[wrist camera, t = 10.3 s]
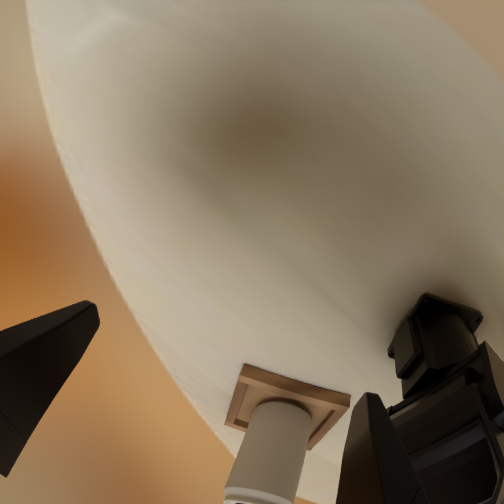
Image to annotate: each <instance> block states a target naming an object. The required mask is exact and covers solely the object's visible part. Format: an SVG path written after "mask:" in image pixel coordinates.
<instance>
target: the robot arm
mask: <svg viewBox="0 0 504 504" xmlns="http://www.w3.org/2000/svg"><path fill="white" fill-rule="evenodd" d="M425 300H428V301H427V302H424V301H425ZM478 317H479V318H478ZM476 318H478V319H476ZM482 320H483V316H482V314H481V313H480V312H478V311H475V310H473V309H470V308H467V307H464V306H461V305H458V304H456V303H453V302H450V301H447V300H444V299H441V298H438V297H435V296H432V295H430V294H424V295H422V296H421V297H420V299H419V301H418V303H417V304H416V306H415V308H414V309H413V311H412V313H411V314H410V316H408V317H407V318H406V319H405V321H404V323H403V324H402V326H401V327H400V329H399V331H398V332H397V334H396V335H395V337H394V338H393V343H392V344H391V346H390V347H389V349H388V356H389V357H390V358H393V359H395V366H396V375H397V378H399V379H401V382H402V395H403V399H404V400H403V401H401V402H400V403H398V404H396V405H395V406H390V407H389V408H387V409H386V408H385V406H384V404H383V402H382V400H381V398H380V397H379V395H378V394H376V393H370V392H366V393H364V394H363V396H362V397H361V398H360V400H359V401H358V402H357V404H356V405H355V406H354V408H353V411H352V416H351V421H350V425H349V430H348V435H347V439H346V443H345V447H344V452H343V458H342V465H341V473H340V480H339V487H338V493H337V499H336V504H504V362H503V361H502V360H501V359H500V357H499V356H498V355H497V354H496V353H495V351H494V350H493V349H492V348H491V347H490V346H489V344H488V343H487V342H486V341H484V342H483V343H482V344H480V345H478V342H477V339H476V337H475V335H474V332H475V331H476V329H477V328H478V326H479V325H480V323H481V322H482ZM99 325H100V319H99V315H98V310H97V306H96V304H94V303H92V302H90V301H88V300H85V301H81V302H78V303H76V304H73V305H70V306H67V307H65V308H62V309H59V310H56V311H53V312H51V313H48V314H45V315H43V316H40V317H37V318H34V319H31V320H29V321H26V322H23V323H20V324H18V325H15V326H12V327H9V328H7V329H4V330H2V331H0V474H1V475H3V476H4V477H7V476H8V475H9V473H10V471H11V469H12V467H13V465H14V464H15V462H16V460H17V458H18V456H19V455H20V453H21V451H22V450H23V448H24V446H25V444H26V443H27V440H28V439H29V437H30V436H31V434H32V433H33V431H34V429H35V428H36V426H37V424H38V422H39V421H40V419H41V418H42V416H43V415H44V413H45V412H46V410H47V409H48V407H49V405H50V404H51V402H52V401H53V399H54V397H55V396H56V395H57V393H58V392H59V390H60V389H61V387H62V386H63V384H64V383H65V381H66V380H67V378H68V377H69V375H70V374H71V372H72V371H73V370H74V368H75V367H76V365H77V364H78V362H79V361H80V359H81V358H82V356H83V354H84V352H85V351H86V349H87V347H88V345H89V343H90V342H91V340H92V338H93V337H94V335H95V333H96V331H97V330H98V328H99ZM392 352H394V353H392Z"/></svg>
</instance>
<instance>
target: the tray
mask: <svg viewBox="0 0 504 504" xmlns="http://www.w3.org/2000/svg"><path fill="white" fill-rule="evenodd" d="M269 401H286V402H290V403H293V404H295V405H297V406H299V407H301V408H302V409H303V410H304V411H306V412H307V413H308V414H309V415H310V417H311V419H312V425H311V430H310V435H309V440H308V445H307V449H306V450H311V449H312V448H313V447H314V446H315V445H316V444H317V443H318V442H319V441H320V440H321V439H322V438H323V437H324V436H325V435H326V433H327V432H328V431H329V430H330V429H331V428H332V427H333V426H334V425H335V424H336V422H337V421H338V420H339V419H340V418H341V417H342V416H343V414H344V413H345V412H346V411H347V410H348V409H349V407H350V395H346V394H342V393H338V392H334V391H331V390H327V389H323V388H320V387H316V386H313V385H309V384H306V383H302V382H299V381H296V380H292V379H289V378H286V377H283V376H280V375H276V374H273V373H270V372H267V371H264V370H261V369H258V368H255V367H253V366H250V365H247V364H244V366H243V368H242V370H241V373H240V375H239V379H238V382H237V385H236V388H235V392H234V395H233V398H232V401H231V405H230V408H229V411H228V414H227V418H226V421H225V424H224V425H227V426H229V427H232V428H235V429H238V430H241V431H244V432H246V431H247V428H248V425H249V422H250V420H251V417H252V414H253V411H254V409H255V408H256V407H257V406H259V405H261V404H264V403H267V402H269Z"/></svg>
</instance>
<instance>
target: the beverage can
mask: <svg viewBox="0 0 504 504" xmlns="http://www.w3.org/2000/svg"><path fill="white" fill-rule="evenodd" d="M311 425H312V419H311V417H310V415H309V414H308V413H307V412H306V411H304V410H303V409H302V408H301V407H299V406H297V405H295V404H293V403H290V402H286V401H269V402H267V403H264V404H261V405H259V406H257V407H256V408H255V409H254V411H253V414H252V417H251V420H250V422H249V425H248V428H247V431H246V433H245V436H244V439H243V441H242V444H241V447H240V449H239V452H238V454H237V457H236V460H235V462H234V465H233V467H232V470H231V472H230V475H229V478H228V480H227V482H226V485H225V487H224V494H225V497H226V498H225V499H224V501H223V502H224V504H293V503H294V499H295V495H296V491H297V487H298V483H299V479H300V475H301V471H302V467H303V463H304V458H305V454H306V449H307V445H308V440H309V435H310V430H311Z"/></svg>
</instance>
